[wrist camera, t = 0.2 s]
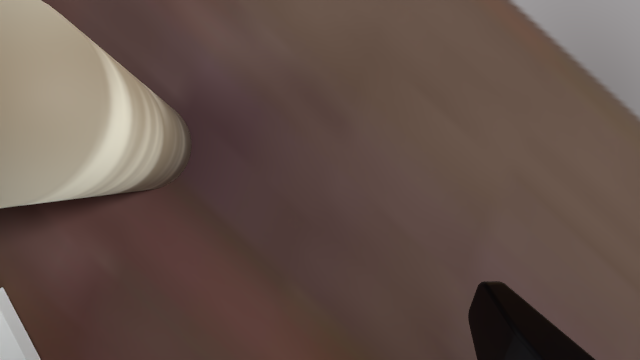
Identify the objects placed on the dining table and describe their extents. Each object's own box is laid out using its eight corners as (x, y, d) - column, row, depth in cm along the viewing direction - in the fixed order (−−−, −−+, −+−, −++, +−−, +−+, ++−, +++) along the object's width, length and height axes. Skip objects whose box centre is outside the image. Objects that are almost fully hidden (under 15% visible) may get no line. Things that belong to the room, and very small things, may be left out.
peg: (206, 165, 23) (138, 150, 10) (123, 204, 23) (-76, 248, 9) (166, 85, 23) (37, -52, 9) (82, 122, 23) (-188, 38, 9)
